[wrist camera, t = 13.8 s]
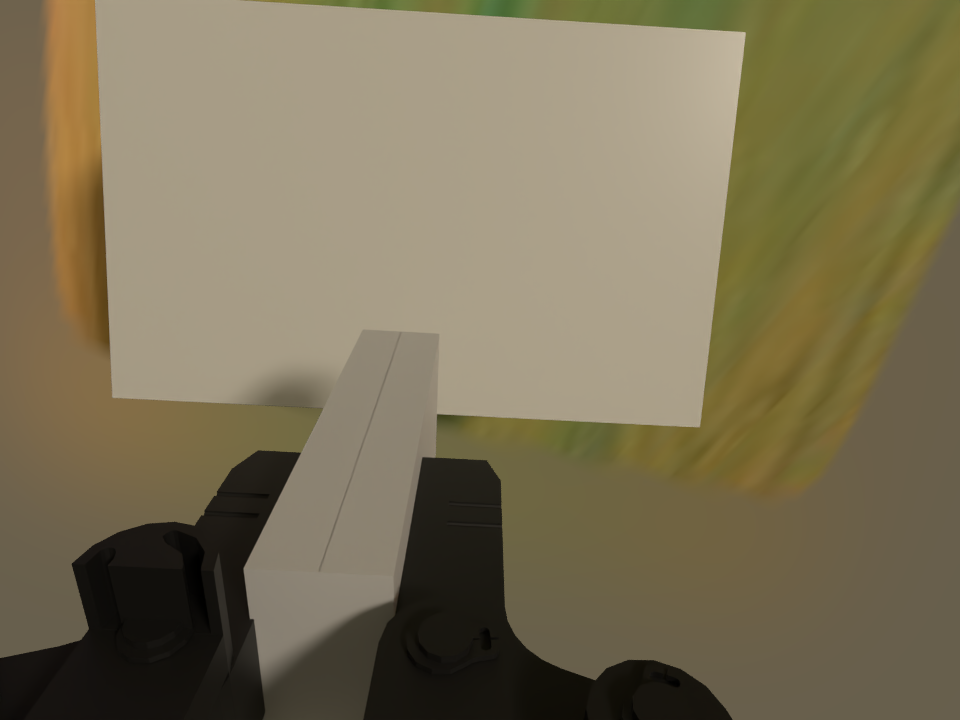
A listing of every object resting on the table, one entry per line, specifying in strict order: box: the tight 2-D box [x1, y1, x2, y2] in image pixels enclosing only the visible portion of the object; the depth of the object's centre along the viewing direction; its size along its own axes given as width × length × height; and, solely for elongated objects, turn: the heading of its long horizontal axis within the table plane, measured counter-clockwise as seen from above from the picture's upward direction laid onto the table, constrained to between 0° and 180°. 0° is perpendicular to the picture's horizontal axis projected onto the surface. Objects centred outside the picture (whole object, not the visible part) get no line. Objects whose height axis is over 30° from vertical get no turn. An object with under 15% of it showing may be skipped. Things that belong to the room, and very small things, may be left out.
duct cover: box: [95, 0, 746, 427], centre depth 17 cm, size 16×10×1 cm, turn 87°
